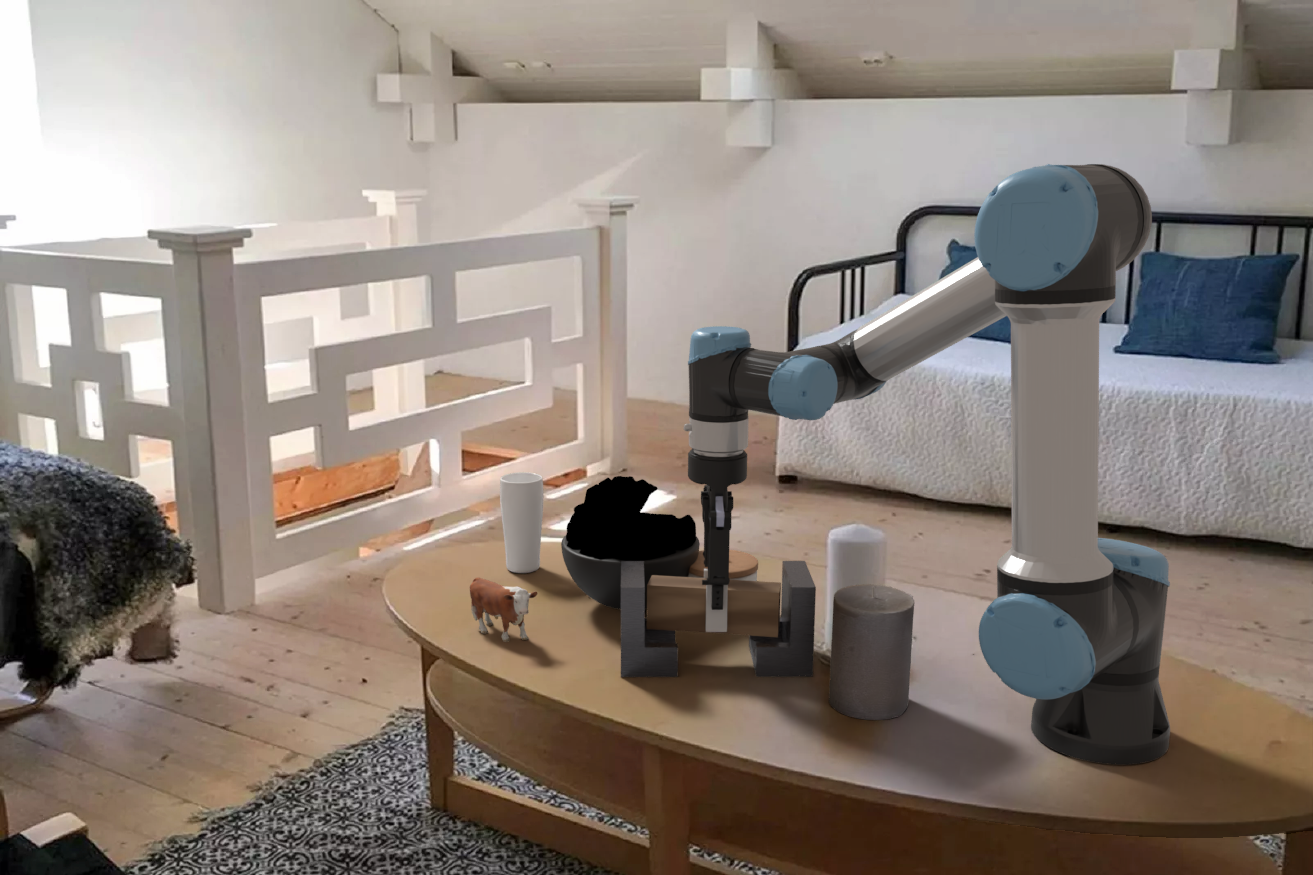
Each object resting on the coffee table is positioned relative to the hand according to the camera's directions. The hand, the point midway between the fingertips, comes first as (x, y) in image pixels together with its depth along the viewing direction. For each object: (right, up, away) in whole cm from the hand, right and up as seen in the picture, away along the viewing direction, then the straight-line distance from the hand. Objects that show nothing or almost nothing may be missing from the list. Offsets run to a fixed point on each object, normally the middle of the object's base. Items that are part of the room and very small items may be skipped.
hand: (714, 623), depth 172 cm
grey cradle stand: (0, -5, +1) cm, 5 cm away
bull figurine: (-29, -3, +9) cm, 30 cm away
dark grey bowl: (-11, -1, +21) cm, 24 cm away
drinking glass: (-29, +3, +37) cm, 47 cm away
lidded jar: (+2, -1, +19) cm, 19 cm away
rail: (0, -1, 0) cm, 1 cm away
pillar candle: (+18, -8, -12) cm, 23 cm away
